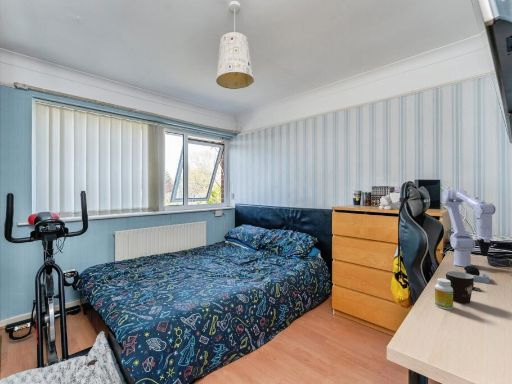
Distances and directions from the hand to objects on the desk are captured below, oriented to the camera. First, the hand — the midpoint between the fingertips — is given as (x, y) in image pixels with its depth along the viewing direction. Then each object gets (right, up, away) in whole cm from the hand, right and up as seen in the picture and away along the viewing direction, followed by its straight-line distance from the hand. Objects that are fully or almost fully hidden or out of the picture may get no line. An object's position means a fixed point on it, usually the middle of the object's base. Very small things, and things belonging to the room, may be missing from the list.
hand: (484, 254), depth 127 cm
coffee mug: (-38, -11, -29) cm, 49 cm away
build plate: (-23, -11, -16) cm, 30 cm away
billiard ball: (-10, -11, -5) cm, 16 cm away
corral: (-11, -10, -5) cm, 16 cm away
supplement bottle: (-46, -11, -34) cm, 58 cm away
